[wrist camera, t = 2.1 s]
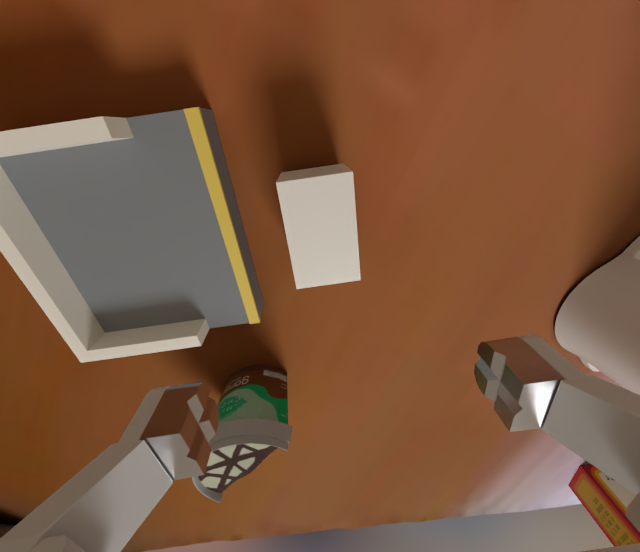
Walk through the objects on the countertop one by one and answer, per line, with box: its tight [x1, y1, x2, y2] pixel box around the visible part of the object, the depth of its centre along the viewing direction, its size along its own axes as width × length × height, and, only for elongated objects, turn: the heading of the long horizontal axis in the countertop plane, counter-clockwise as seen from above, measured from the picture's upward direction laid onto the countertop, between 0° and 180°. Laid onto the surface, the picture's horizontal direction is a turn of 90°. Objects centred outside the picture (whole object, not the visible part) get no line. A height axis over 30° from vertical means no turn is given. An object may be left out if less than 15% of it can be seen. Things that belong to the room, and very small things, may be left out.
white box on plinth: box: [276, 164, 361, 289], centre depth 23 cm, size 5×8×6 cm, turn 7°
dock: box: [0, 107, 264, 363], centre depth 23 cm, size 16×18×6 cm
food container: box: [192, 366, 292, 503], centre depth 30 cm, size 12×6×10 cm, turn 138°
